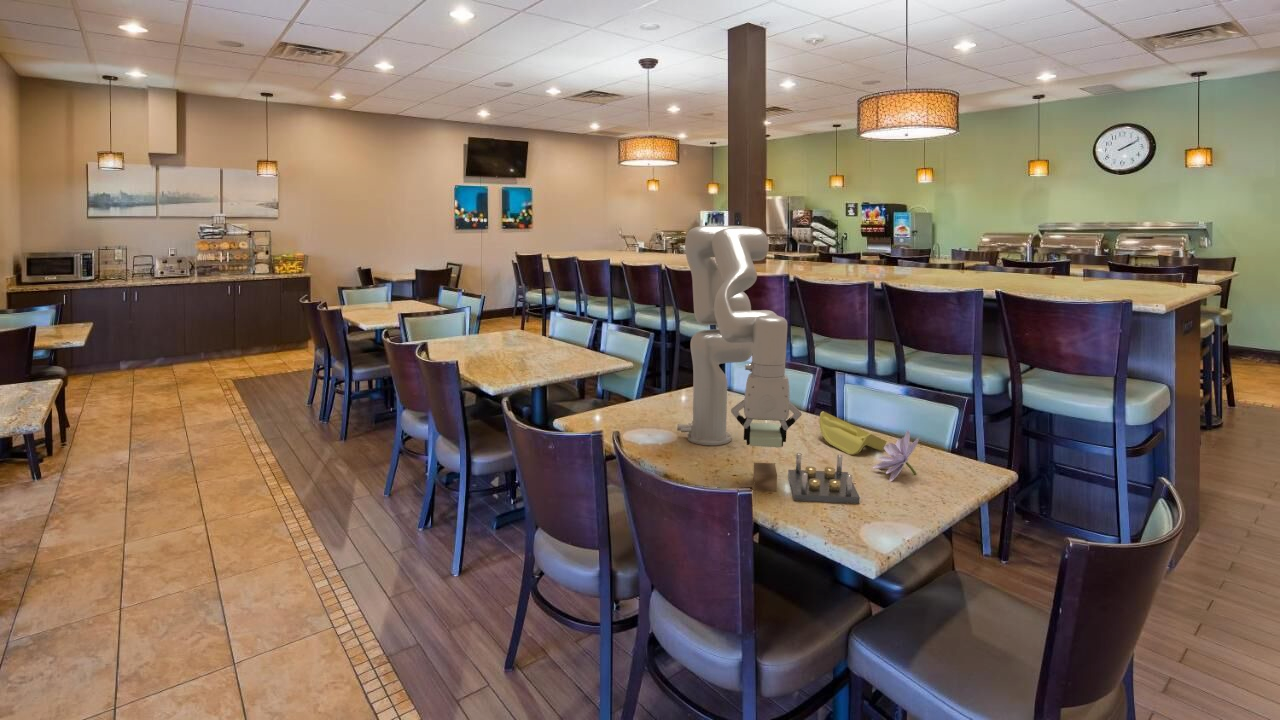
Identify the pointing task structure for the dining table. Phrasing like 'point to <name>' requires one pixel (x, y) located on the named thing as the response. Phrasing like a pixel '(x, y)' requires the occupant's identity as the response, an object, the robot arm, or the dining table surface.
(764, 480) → the block
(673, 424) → the dining table surface
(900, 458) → the water lily
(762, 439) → the board
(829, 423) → the plastic component
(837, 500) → the chassis
